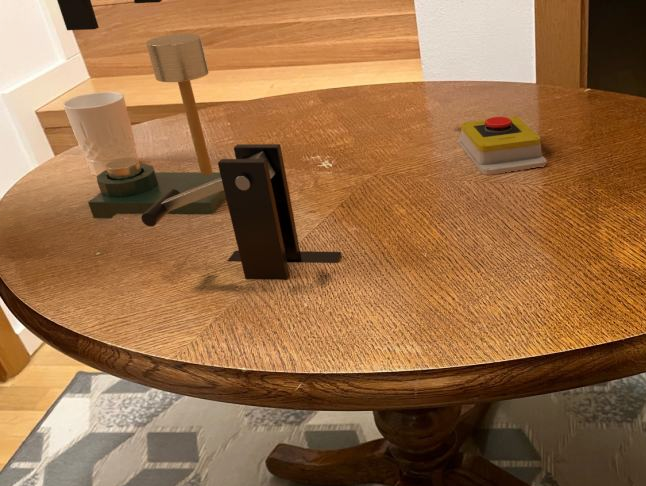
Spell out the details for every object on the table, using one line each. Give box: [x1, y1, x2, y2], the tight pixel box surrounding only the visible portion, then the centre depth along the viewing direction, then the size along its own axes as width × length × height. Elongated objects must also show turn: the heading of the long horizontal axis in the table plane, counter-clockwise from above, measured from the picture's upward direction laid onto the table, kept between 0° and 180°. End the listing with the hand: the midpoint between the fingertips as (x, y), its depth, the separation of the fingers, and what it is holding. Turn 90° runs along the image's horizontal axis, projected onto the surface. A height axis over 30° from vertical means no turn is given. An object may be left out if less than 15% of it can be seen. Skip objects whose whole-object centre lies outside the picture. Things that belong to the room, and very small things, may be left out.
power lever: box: [141, 151, 275, 228], centre depth 71 cm, size 13×6×2 cm, turn 84°
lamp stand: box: [145, 33, 213, 175], centre depth 88 cm, size 6×6×16 cm
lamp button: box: [106, 158, 142, 180], centre depth 94 cm, size 4×4×2 cm
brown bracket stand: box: [217, 143, 343, 281], centre depth 73 cm, size 12×9×14 cm
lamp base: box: [87, 163, 227, 219], centre depth 94 cm, size 16×10×4 cm, turn 84°
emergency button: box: [457, 115, 548, 176], centre depth 104 cm, size 9×4×15 cm
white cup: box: [62, 91, 139, 177], centre depth 104 cm, size 8×8×10 cm
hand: (118, 15), depth 73 cm, fingers open, 13 cm apart
